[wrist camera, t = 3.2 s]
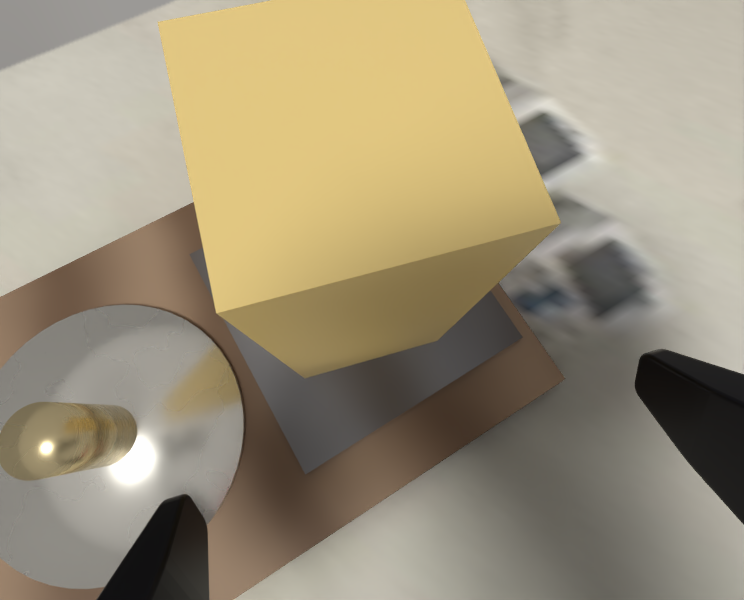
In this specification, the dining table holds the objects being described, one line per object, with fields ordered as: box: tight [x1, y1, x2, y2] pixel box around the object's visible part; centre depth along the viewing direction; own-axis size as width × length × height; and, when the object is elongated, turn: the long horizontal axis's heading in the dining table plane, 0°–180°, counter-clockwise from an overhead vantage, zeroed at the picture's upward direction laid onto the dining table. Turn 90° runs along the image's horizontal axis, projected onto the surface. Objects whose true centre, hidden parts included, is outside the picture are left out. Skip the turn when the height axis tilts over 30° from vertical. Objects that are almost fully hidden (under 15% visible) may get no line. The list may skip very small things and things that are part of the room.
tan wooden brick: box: [158, 0, 561, 378], centre depth 14 cm, size 6×6×12 cm
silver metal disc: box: [0, 305, 245, 589], centre depth 16 cm, size 11×11×4 cm
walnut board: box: [0, 202, 565, 600], centre depth 19 cm, size 24×16×1 cm, turn 121°
